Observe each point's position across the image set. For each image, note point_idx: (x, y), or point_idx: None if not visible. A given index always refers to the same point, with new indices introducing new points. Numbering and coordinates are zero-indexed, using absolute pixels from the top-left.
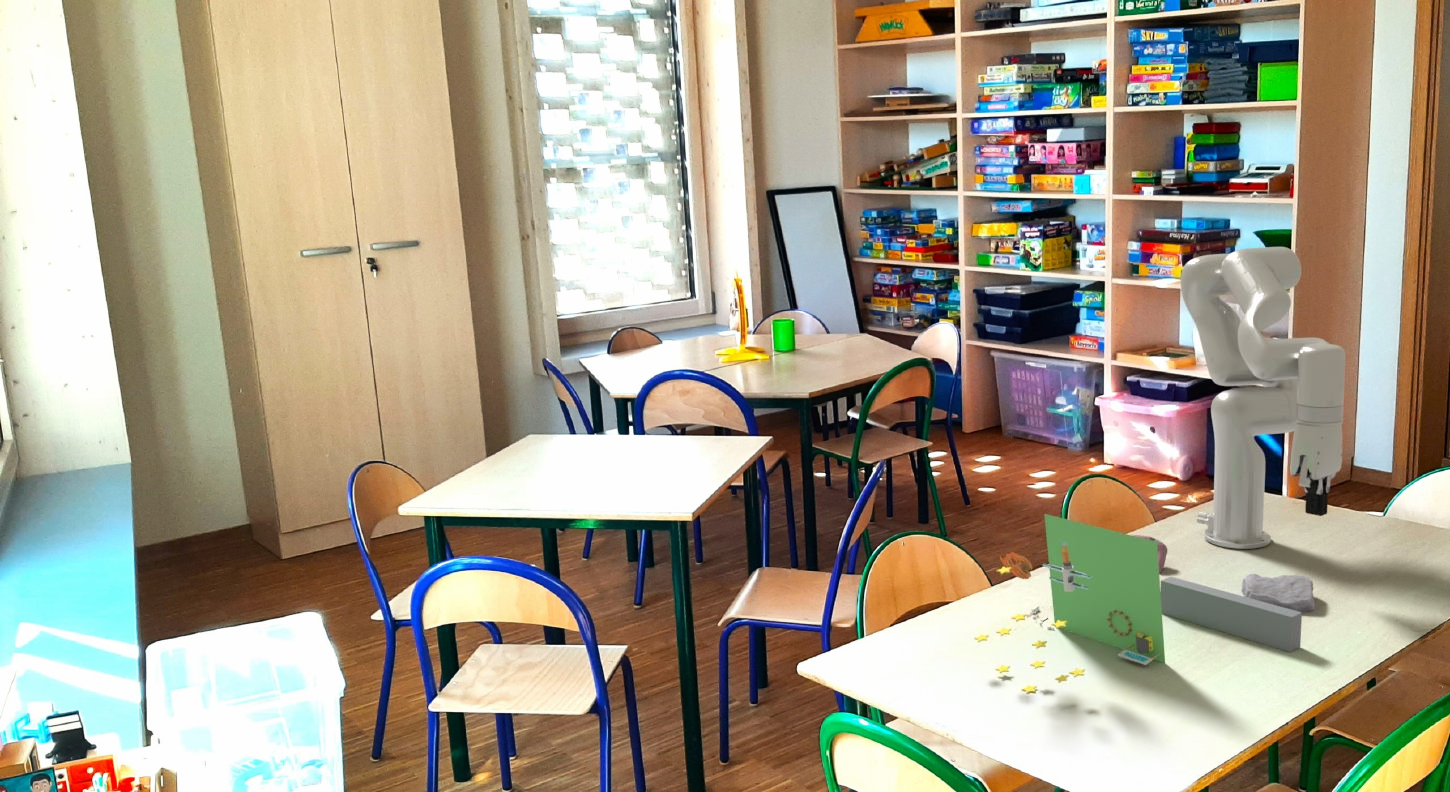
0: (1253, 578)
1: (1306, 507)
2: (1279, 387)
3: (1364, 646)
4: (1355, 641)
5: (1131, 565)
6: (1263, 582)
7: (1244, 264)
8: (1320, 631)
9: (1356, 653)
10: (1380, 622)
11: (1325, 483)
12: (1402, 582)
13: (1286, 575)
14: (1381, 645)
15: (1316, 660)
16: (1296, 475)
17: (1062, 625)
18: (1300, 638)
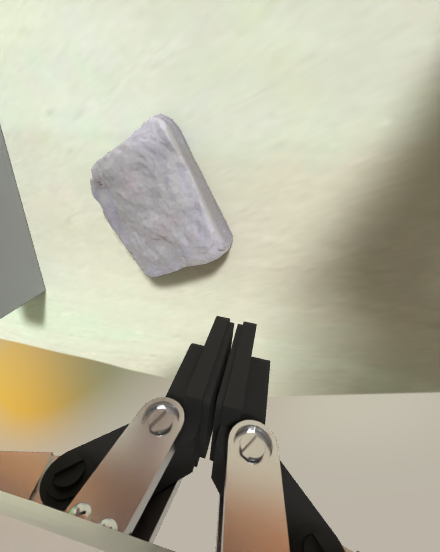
0: (144, 150)
1: (212, 331)
2: None
3: (106, 344)
4: (110, 334)
5: None
6: (141, 180)
7: None
8: (105, 296)
9: (82, 340)
10: None
11: (218, 538)
12: (404, 350)
13: (201, 209)
14: (122, 357)
15: (33, 313)
16: (6, 494)
17: None
18: (35, 296)
